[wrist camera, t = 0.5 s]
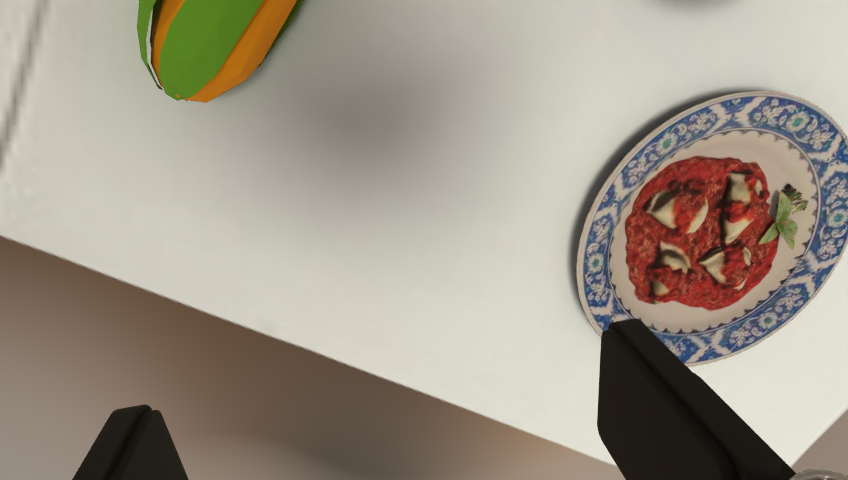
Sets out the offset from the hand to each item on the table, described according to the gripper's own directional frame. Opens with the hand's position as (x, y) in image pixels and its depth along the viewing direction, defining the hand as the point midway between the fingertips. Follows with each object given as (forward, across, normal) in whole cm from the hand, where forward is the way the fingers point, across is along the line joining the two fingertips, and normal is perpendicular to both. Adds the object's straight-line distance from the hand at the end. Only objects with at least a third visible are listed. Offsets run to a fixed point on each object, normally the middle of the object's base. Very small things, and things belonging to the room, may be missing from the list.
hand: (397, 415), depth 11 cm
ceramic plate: (+30, -29, +13) cm, 44 cm away
